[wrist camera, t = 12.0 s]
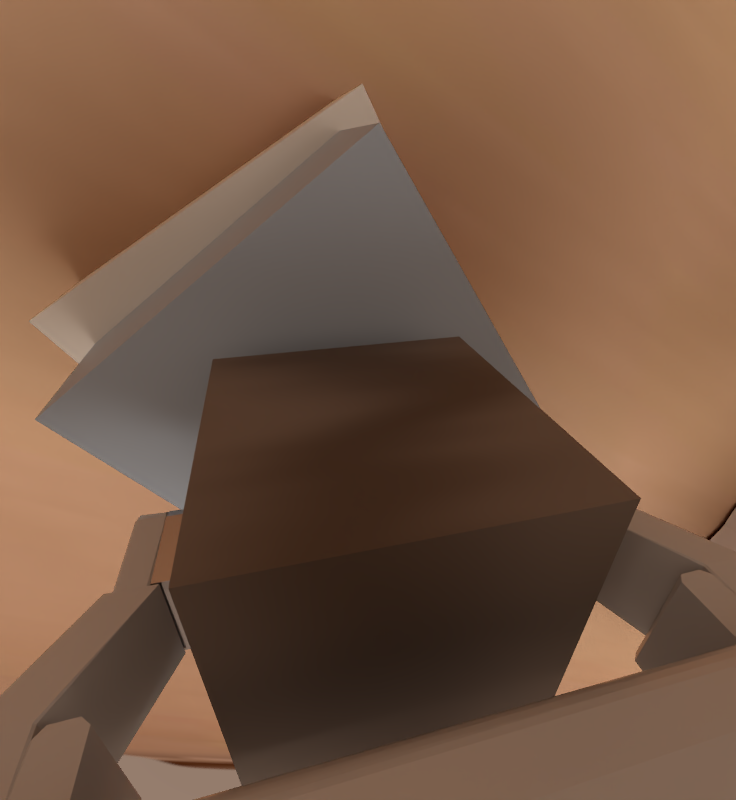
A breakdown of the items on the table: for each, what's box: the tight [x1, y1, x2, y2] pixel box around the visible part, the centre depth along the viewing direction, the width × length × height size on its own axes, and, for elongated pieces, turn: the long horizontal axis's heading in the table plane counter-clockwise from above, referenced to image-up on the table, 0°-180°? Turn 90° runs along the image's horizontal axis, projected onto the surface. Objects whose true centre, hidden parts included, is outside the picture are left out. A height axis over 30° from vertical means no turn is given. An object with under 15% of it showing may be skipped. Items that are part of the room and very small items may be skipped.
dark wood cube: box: [168, 337, 641, 786], centre depth 8 cm, size 6×6×6 cm
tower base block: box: [29, 84, 383, 364], centre depth 18 cm, size 12×12×5 cm
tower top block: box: [35, 123, 540, 510], centre depth 14 cm, size 10×10×4 cm
